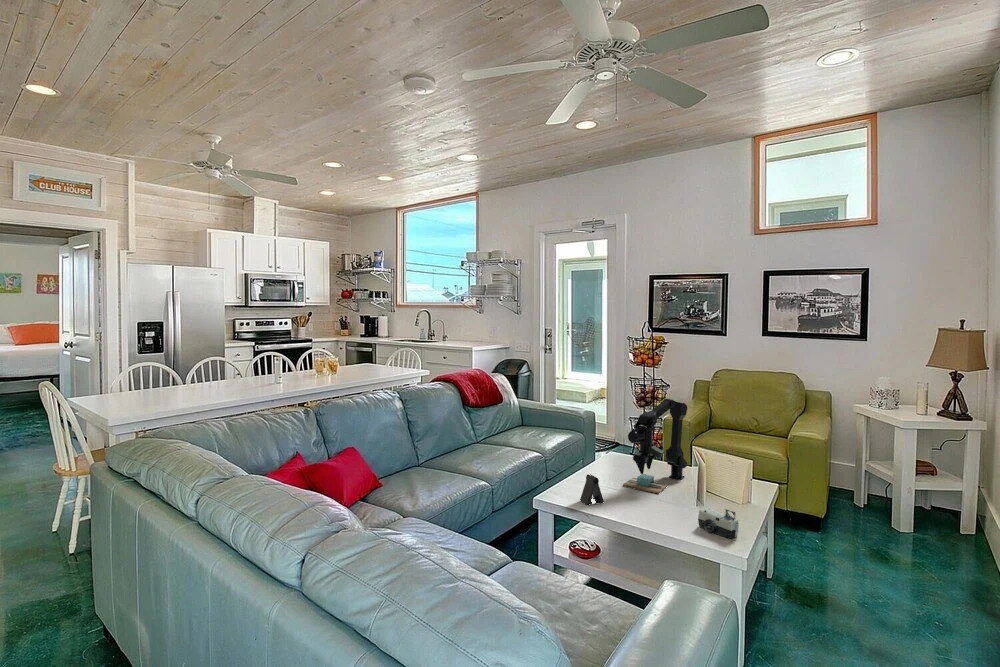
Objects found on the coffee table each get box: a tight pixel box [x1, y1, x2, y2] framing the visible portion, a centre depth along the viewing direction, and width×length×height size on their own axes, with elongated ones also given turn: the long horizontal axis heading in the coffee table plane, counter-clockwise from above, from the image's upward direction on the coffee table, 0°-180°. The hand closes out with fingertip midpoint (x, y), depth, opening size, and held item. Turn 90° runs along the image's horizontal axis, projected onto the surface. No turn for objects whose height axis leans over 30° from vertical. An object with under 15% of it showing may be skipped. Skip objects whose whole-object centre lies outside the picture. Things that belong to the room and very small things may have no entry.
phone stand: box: [579, 473, 605, 506], centre depth 232 cm, size 9×6×12 cm, turn 112°
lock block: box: [636, 473, 655, 488], centre depth 253 cm, size 6×6×4 cm
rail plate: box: [622, 477, 669, 495], centre depth 253 cm, size 13×18×2 cm
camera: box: [697, 507, 740, 540], centre depth 202 cm, size 15×8×10 cm, turn 34°
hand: (645, 471), depth 252 cm, fingers open, 9 cm apart
